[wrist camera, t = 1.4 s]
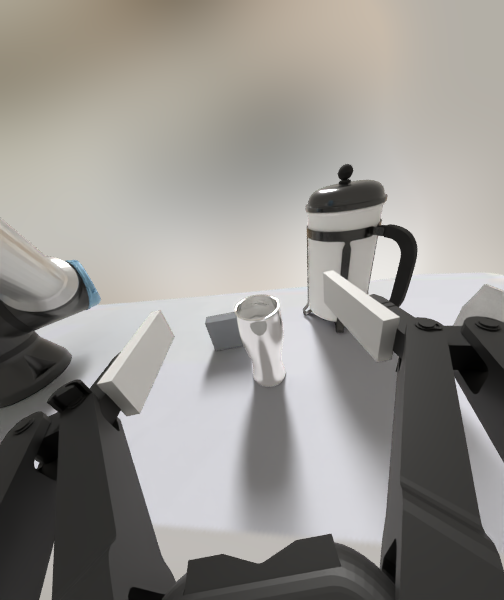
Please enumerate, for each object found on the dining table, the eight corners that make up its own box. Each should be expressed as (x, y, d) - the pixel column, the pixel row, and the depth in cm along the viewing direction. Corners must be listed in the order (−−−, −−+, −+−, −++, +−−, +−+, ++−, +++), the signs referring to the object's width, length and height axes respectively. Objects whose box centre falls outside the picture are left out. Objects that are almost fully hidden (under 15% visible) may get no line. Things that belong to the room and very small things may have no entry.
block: (255, 343, 41) (248, 315, 37) (215, 351, 42) (205, 323, 37) (254, 336, 43) (248, 308, 39) (216, 343, 44) (206, 316, 39)
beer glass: (273, 351, 39) (263, 289, 31) (296, 375, 33) (291, 306, 25) (244, 369, 36) (225, 306, 28) (264, 398, 31) (247, 328, 23)
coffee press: (300, 334, 41) (293, 174, 26) (304, 296, 54) (301, 173, 38) (393, 341, 36) (457, 140, 20) (374, 297, 48) (403, 152, 33)
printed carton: (491, 360, 29) (529, 309, 24) (449, 332, 35) (473, 286, 30) (514, 356, 29) (558, 304, 24) (469, 329, 35) (496, 282, 30)
